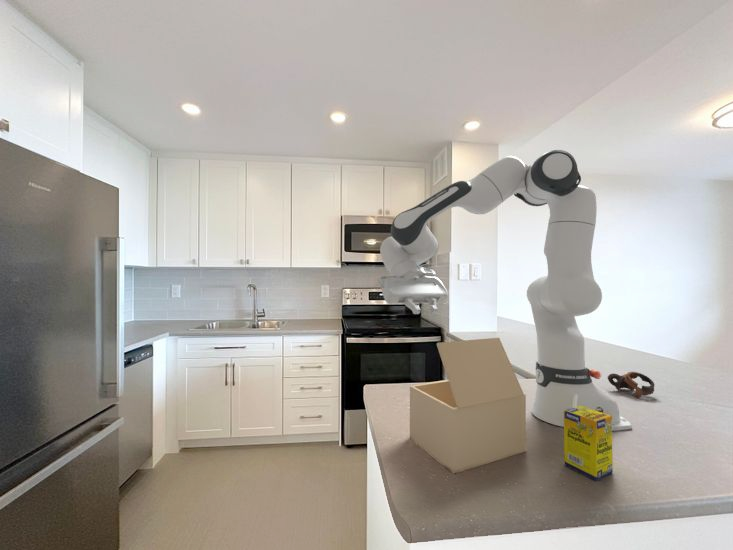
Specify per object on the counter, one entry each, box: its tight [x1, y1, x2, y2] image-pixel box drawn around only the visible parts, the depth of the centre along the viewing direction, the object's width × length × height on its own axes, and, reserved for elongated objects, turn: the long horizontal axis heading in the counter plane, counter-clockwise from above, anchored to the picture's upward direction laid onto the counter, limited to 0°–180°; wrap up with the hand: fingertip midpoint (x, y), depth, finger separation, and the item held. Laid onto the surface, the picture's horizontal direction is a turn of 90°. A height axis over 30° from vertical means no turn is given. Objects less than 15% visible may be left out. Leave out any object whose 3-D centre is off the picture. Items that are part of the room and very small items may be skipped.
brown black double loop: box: [607, 371, 655, 399], centre depth 104 cm, size 12×10×8 cm
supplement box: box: [563, 406, 614, 481], centre depth 60 cm, size 6×6×11 cm
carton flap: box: [436, 337, 525, 408], centre depth 65 cm, size 18×13×1 cm
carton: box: [409, 379, 527, 475], centre depth 69 cm, size 20×16×12 cm
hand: (426, 312), depth 83 cm, fingers open, 4 cm apart
